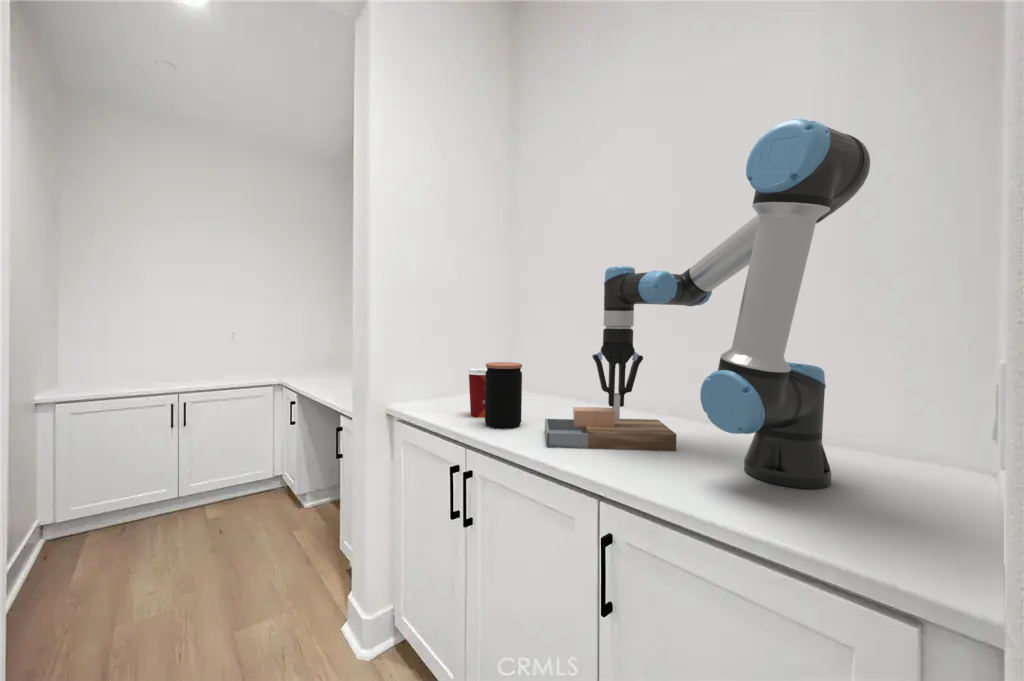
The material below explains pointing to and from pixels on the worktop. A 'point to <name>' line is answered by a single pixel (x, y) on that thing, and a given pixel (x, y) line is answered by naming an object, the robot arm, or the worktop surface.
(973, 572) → the worktop surface
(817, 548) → the worktop surface
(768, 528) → the worktop surface
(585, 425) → the tile
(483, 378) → the coffee cup
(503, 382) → the coffee jar
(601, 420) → the tile
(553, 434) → the tray
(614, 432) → the board
